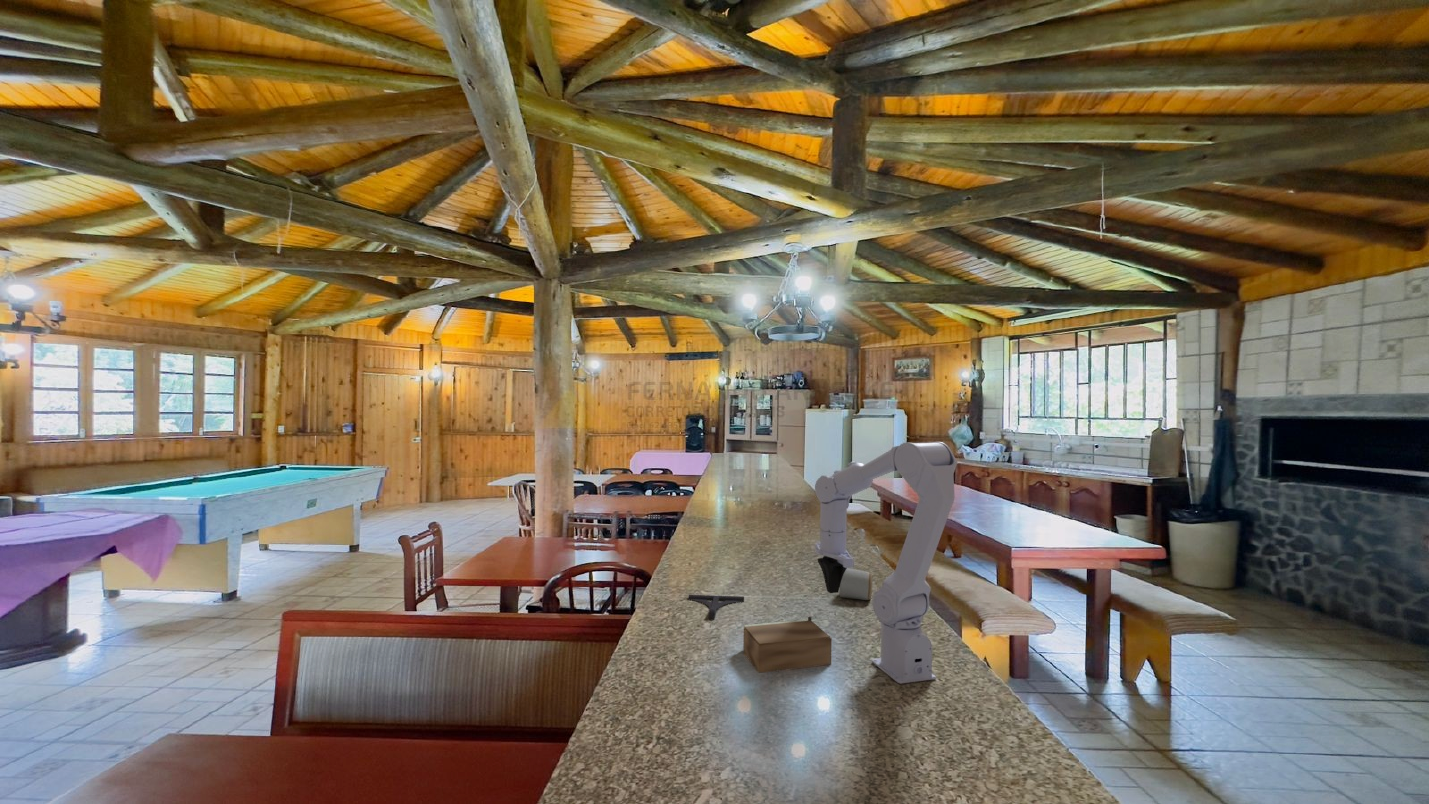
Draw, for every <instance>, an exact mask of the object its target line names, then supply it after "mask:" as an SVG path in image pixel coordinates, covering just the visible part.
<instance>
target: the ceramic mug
mask: <svg viewBox="0 0 1429 804" xmlns="http://www.w3.org/2000/svg"><path fill="white" fill-rule="evenodd" d="M838 593H839V597H840V598H845V599H851V600H852V599H853V600H854V599H855V600H861V601H862V600H863V601H869V600H871V599H872V593H873V574H872V573H871V572H869V571H866V570H859V569H854V568H847V569H846V570H845V572H844V574H843V577H842V580H841V584H840V588H839V591H838Z"/></svg>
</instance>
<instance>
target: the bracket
mask: <svg viewBox="0 0 1429 804" xmlns="http://www.w3.org/2000/svg"><path fill="white" fill-rule="evenodd" d="M689 599H690V600H689ZM688 600H689V601H691V600H692V602H697V603H699V602H701V603H700V604H702V603H703V605H704V604H705V606H706V607H708V609H709V611H708V620H712V621H713V620H715V619H716V614H717V611H718V610H719V609H720V608H722V607H724V606H728V604H729V605H732V603H734V604H737V603H736V602H741V603H744V602H745V596H740V595H739V596H738V595H737V596H736V595H712V594H711V595H710V594H709V595H707V594H688ZM707 600H712V601H707Z"/></svg>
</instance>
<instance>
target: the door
mask: <svg viewBox="0 0 1429 804" xmlns="http://www.w3.org/2000/svg"><path fill="white" fill-rule="evenodd" d="M800 621H808V618H807V619H806V618H805V619H797V620H786V621H776V622H775V621H774V622H766V623H765V622H764V623H753V624H743V629H744V628H745V627H747V626H758V625H768V624H779V623H789V622H800Z"/></svg>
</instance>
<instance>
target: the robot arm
mask: <svg viewBox="0 0 1429 804" xmlns="http://www.w3.org/2000/svg"><path fill="white" fill-rule="evenodd" d="M957 465H958V460H957V459H956V457H955V454H954V453H953V451H952V449H951V447H950V446H949V445H947V444H946V443H944V442H942V441H933V442H907V441H905V442H903V443H901V444H900V445H895V446H892V447H891V449H890V450H888V451H886V452H885V453H883V454H881V455H879V456H877V457H876V458H874V459H873V460H870V461H869V462H867V463H866V464H865V463H862V462H857V461H850V462H848V463H847V467H845V468H843V469H841V470H840V469H839V470H838V469H837V470H835V471H833V474H832V475H821V476H820V477H819V478H818V479H817V480H816V482H815V484H814V492H815V495H816V497H817V499H818V500H819V502H820V509H819V512H820V515H819V516H820V517H819V522H820V523H819V529H820V530H819V532H820V533H819V542H814V553H815V554H816V555H818V556H823V557H819V558H817V563H818V565H819V566H820V568H821V571H822V575H823V578H824V583H825V588H826V591H827V592H828V593H830V594H837V593H839V592H840V591H839V590H840V584H841V580H842V577H843V574H844V572H845V570H846V569H847V568H850V569H852V568H855V567H854V565H855V563H854V561H855V558H854V557H852V556H851V554H850V553H849V551H848V550H847V538H848V537H847V533H848V532H847V526H848V525H847V523H848V522H847V517H848V516H847V515H848V514H847V513H848V512H847V511H848V509H849V507H850V500H851V499H852V497H853V495H855V494H858V493H861V492H863V491H865V490H867V489H869V488H870V487H872V484H873V482H874V480H875V479H877V478H879V477H882V476H884V475H887V474H890V473H893V472H898V473H899V474H900V476H902V479H903V480H905V482H906V483H907V484H908V486H909V487H910V488H911V489H912V490H913V492H914V493H916V494H917V496H918V498H919V499H918V502H917V505H916V507H915V511H914V514H913V517H912V520H911V522H910V526H909V528H908V532H907V535H906V537H905V541H904V543H903V545H902V549H901V551H900V555H899V558H898V561H897V564H896V566H895V569H894V571H893V572H892V573H891V574H890V575H889V576H888V577H886V578H885V579H884V580H883V581H882V584H881V586H880V588H879V589H878V590H877V591H875V592H874V594H873V596H872V602H871V603H872V609H873V612H874V614H875V616H876V617H877V619H878V623H880V657H877V658H872V659H871V663H873V664H874V665H875V666H876V667H878V668H879V669H880V670H882V672H884V673H885V674H886V675H888V677H890V678H891V679H892V680H893V681H895V682H896V683H898V684H907V683H917V682H922V681H923V682H924V681H930V680H931V681H932V680H935V679H937V676H936V675H935V674H933V645H932V642H931V641H932V640H930V638H929V637H928V636H927V635H926V634H925V632H924V631H923V629H922V623H923V622H924V619H923V618H924V616H925V615H927V614H928V612H929V610H930V592H931V591H932V587H931V586H930V585H929V583H928V581H926V578H927V575H928V572H929V570H930V568H931V565H932V562H933V560H934V557H935V553H936V551H937V548H938V546H939V542H940V539H942V538H941V537H942V535H943V532H944V529H945V526H946V524H947V521H948V518H949V515H950V512H951V510H952V507H953V504H954V502H955V480H954V477H955V476H954V473H955V471H956V468H957Z"/></svg>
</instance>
